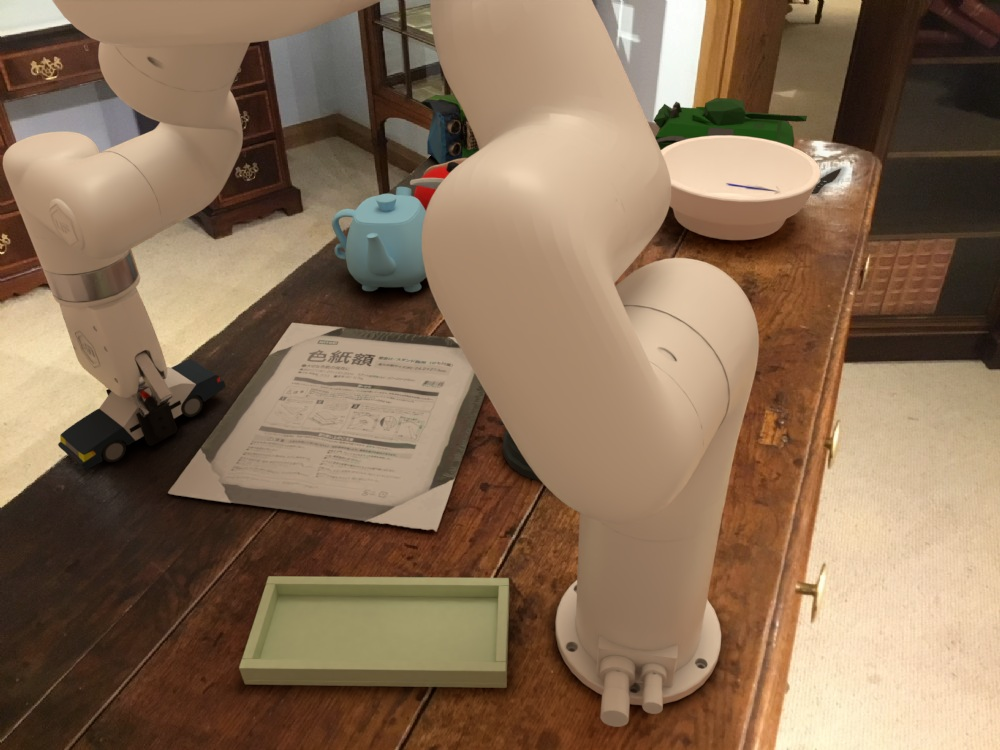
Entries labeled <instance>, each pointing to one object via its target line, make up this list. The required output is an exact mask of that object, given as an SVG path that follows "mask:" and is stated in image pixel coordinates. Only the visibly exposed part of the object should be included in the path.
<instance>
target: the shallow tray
mask: <svg viewBox="0 0 1000 750" xmlns="http://www.w3.org/2000/svg"><path fill="white" fill-rule="evenodd" d="M260 598H261V599H260V600H259V601H260V602H259V604H258V608H257V611H256V614H255V617H254V621H253V623H252V627H251V630H250V633H249V635H248V639H247V643H246V645H245V649H244V651H243V654H242V658H241V659H240V663H239V666H238V669H239V673H240V675H241V678H242V680H243V683H244V685H249V686H251V685H254V686H255V685H257V686H259V685H260V686H261V685H262V686H326V687H327V686H331V687H332V686H335V687H336V686H338V687H341V686H342V687H410V688H411V687H415V688H417V687H418V688H480V689H481V688H483V689H484V688H485V689H486V688H488V689H489V688H490V689H491V688H493V689H494V688H495V689H506V688H508V655H509V626H510V625H509V621H510V620H509V619H510V578H509V577H441V576H440V577H436V576H435V577H434V576H433V577H431V576H430V577H426V576H423V577H422V576H421V577H420V576H416V577H415V576H413V577H412V576H410V577H409V576H297V575H296V576H293V575H292V576H291V575H289V576H287V575H286V576H285V575H284V576H283V575H280V576H279V575H276V576H275V575H271V576H270V575H268V577H267V579H266V583H265V586H264V589H263V592H262V596H261V597H260Z"/></svg>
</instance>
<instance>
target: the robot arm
mask: <svg viewBox="0 0 1000 750" xmlns="http://www.w3.org/2000/svg"><path fill="white" fill-rule="evenodd" d="M51 1H52V3H53V4H54V5H55V7H56V8H57V9H58V11H59V12H60V14H61V15H62V16H63V17H64V18H65V20H67V21H68V22H69V23H70V24H71V25H72V26H73V27H74V28H75V29H76V30H78V31H79V32H81V33H83V34H84V35H86V36H87V37H89V38H90V39H92V40H95V41H98V42H99V45H98V53H97V54H98V55H97V57H98V63H99V68H100V72H101V74H102V76H103V78H104V80H105V82H106V83H107V85H108V87H109V88H110V89H111V91H112V92H113V93H114V94H115V95H116V96H117V97H118V98H119V99H120V100H121V101H122V102H123V103H124V104H126V105H127V106H128V107H129V108H130V109H132V110H134V111H135V112H137V113H139V114H140V115H143V116H145V117H146V118H149V119H151V120H154V121H156V122H158V124H157V126H156V127H155V128H154V129H153V130H151V131H148V132H146V133H143V134H141V135H138V136H135V137H132V138H130V139H128V140H125V141H123V142H121V143H118V144H117V145H114V146H112V147H109V148H106V149H105V150H102V151H100V149H99V148H98V146H97V144H96V143H95V142H94V141H93V139H91V138H90V137H89V136H87V135H85V134H82V133H79V132H75V131H61V130H60V131H49V132H43V133H38V134H34V135H31V136H27V137H25V138H23V139H21V140H18V141H16V142H15V143H12V145H10V146H9V147H8V148H7V149H6V151H5V152H4V154H3V157H2V168H3V172H4V176H5V178H6V180H7V183H8V186H9V188H10V191H11V193H12V196H13V198H14V201H15V204H16V206H17V209H18V210H19V214H20V216H21V218H22V221H23V223H24V226H25V229H26V230H27V233H28V236H29V238H30V241H31V243H32V246H33V248H34V251H35V254H36V256H37V259H38V261H39V263H40V266H41V269H42V271H43V274H44V276H45V278H46V281H47V284H48V286H49V288H50V292H51V294H52V297H53V299H54V300H55V302H57V303H58V304H59V308H60V311H61V314H62V318H63V321H64V324H65V327H66V330H67V333H68V337H69V339H70V342H71V345H72V348H73V350H74V353H75V357H76V359H77V361H78V363H79V364H80V366H81V367H82V368H83V369H84V371H86V372H87V373H88V374H89V375H91V377H93V378H94V379H96V380H97V381H98V382H99V383H100V384H102V385H103V386H104V387H105V388H106V390H105V392H106V394H107V396H108V395H109V394H110V392H111V391H112V392H114V393H115V394H116V395H118V396H120V397H123V398H129V397H131V396H132V398H133V400H134V402H135V404H136V406H137V408H138V410H139V413H137V414H136V416H137V418H138V421H139V424H140V427H141V429H142V432H143V435H144V436H143V437H144V440H145V442H146V444H147V445H149V446H150V447H152V446H155V445H156V444H159V443H160V442H162V441H164V440H165V439H167V438H169V437H171V436H172V435H174V434H176V433H177V432H178V425H177V423H176V420H175V418H174V417H173V414H172V411H171V408H170V405H169V404H170V401H169V399H170V398H172V393H171V391H170V390H169V388H168V386H167V385H166V383H165V382H164V379H166V377H167V367H168V366H167V363H166V359H165V355H164V352H163V350H162V347H161V344H160V341H159V338H158V336H157V333H156V330H155V328H154V326H153V323H152V320H151V317H150V316H149V312H148V310H147V308H146V305H145V303H144V302H143V299H142V297H141V295H140V292H139V291H138V289H137V287H138V285H139V284H140V282H141V275H140V272H139V269H138V266H137V263H136V260H135V257H134V254H133V251H132V249H133V248H135V247H137V246H139V245H140V244H144V243H145V242H147V241H149V240H150V239H152V238H154V237H155V236H156V235H158V234H160V233H162V232H163V231H165V230H167V229H168V228H171V227H172V226H175V225H176V224H179V223H180V222H183V221H184V220H186V219H188V218H190V217H192V216H194V215H196V214H198V213H200V212H201V211H202V210H204V209H205V208H207V207H208V206H209V205H210V204H211V203H213V202H214V201H215V199H216V198H217V197H218V196H219V195H220V193H221V192H222V190H223V189H224V187H225V185H226V184H227V182H228V179H229V178H230V176H231V173H232V172H233V169H234V167H235V165H236V163H237V161H238V159H239V157H240V154H241V152H242V147H243V141H244V140H243V138H244V132H243V131H244V130H243V123H242V119H241V113H240V110H239V106H238V104H237V101H236V99H235V96H234V94H233V92H232V91H231V88H232V86H233V84H234V81H235V79H236V77H237V74H238V72H239V70H240V67H241V64H242V63H243V60H244V58H245V55H246V53H247V51H248V49H249V47H250V44H251V43H259V42H267V41H275V40H279V39H282V38H287V37H290V36H294V35H295V36H296V35H300V34H302V33H305V32H308V31H311V30H313V29H315V28H316V29H317V28H318V27H320V26H323V25H325V24H328V23H331V22H332V21H335V20H338V19H340V18H343V17H346V16H348V15H352V14H353V13H357V12H358V11H361V10H364V9H366V8H369V7H371V6H373V5H375V4H377V3H380V2H382V1H383V0H51ZM429 3H430V6H429V7H430V22H431V23H430V24H431V30H432V36H433V43H434V47H435V51H436V55H437V58H438V62H439V64H440V67H441V70H442V72H443V73H442V74H443V76H444V78H445V80H446V81H447V84H448V87H449V88H450V90H451V91H452V94H454V95H455V97H456V98H457V100H458V102H459V104H460V105H461V107H462V109H463V111H464V113H465V116H466V118H467V120H468V122H469V124H470V127H471V129H472V131H473V133H474V136H475V138H476V141H477V144H478V147H479V151H478V152H476V153H475V154H473V155H472V156H470V157H468V158H467V159H466V160H464V161H463V162H462V163H461V164H459V165H458V166H457V167H456V168H455V169H453V170H452V171H451V172H450V173H449V174H448V176H447V177H446V178H445V179H444V180H443V181H442V183H441V184H440V185H439V186H438V188H437V189H436V191H435V193H434V194H433V196H432V198H431V200H430V202H429V205H428V207H427V210H426V213H425V217H424V221H423V228H422V254H423V261H424V267H425V272H426V280H427V283H428V286H429V289H430V292H431V294H432V297H433V299H434V301H435V303H436V306H437V308H438V310H439V311H440V313H441V316H442V318H443V320H444V321H445V323H446V325H447V327H448V329H449V331H450V333H451V334H452V337H455V339H456V341H457V343H458V344H459V346H460V348H461V350H462V351H463V353H464V355H465V357H466V358H467V360H468V362H469V364H470V365H471V367H472V369H473V371H474V372H475V374H476V376H477V378H478V380H479V381H480V383H481V385H482V387H483V388H484V390H485V392H486V394H485V395H486V396H487V397H488V399H489V400H490V403H491V404H492V406H493V407H494V410H495V411H496V413H497V414H498V416H499V418H500V421H502V422H503V423H504V425H503V426H504V427H505V429H506V431H507V430H508V432H509V434H510V435H511V437H512V439H513V441H514V442H515V444H516V446H517V447H518V449H519V451H520V452H521V454H522V455H523V457H524V459H525V460H526V462H527V463H528V465H529V466H530V467H531V469H532V470H533V471H534V473H535V474H536V475H537V477H538V478H539V479H540V480H541V481H542V482H541V481H540V482H541V483H542V484H543V485H544V486H545V487H546V489H547V490H549V492H551V494H552V495H553V496H555V497H556V499H559V500H560V501H561V502H562V503H563V504H565V505H566V506H568V507H569V508H570V509H572V510H573V511H575V512H577V513H578V514H579V517H578V518H579V519H578V521H579V522H578V523H579V524H578V548H577V575H576V580H575V581H574V582H572V584H570V585H569V587H568V588H567V589H566V590H565V592H564V594H563V595H562V597H561V599H560V601H559V604H558V606H557V609H556V615H555V622H554V623H555V628H554V629H555V639H556V643H557V648H558V651H559V653H560V655H561V658H562V661H563V662H564V663H565V665H566V666H567V668H568V669H569V670H570V672H571V674H573V675H574V676H575V678H577V679H578V680H579V681H580V682H581V684H583V685H585V686H586V687H588V688H589V689H591V690H592V691H594V692H595V693H597V694H599V695H601V704H600V705H601V707H600V718H599V719H600V720H601V722H602V723H603V724H605V725H607V726H610V727H614V728H619V727H624V726H626V725H628V723H629V722H630V705H635V706H641V707H642V710H643V711H644V712H645V713H647V714H650V715H658V714H660V713H662V711H663V709H664V708H663V707H664V705H665V704H668V703H673V702H676V701H679V700H681V699H683V698H685V697H687V696H690V695H692V694H693V693H694V692H696V691H697V690H698V689H700V688H701V687H702V686H703V685H704V684H706V681H707V680H708V679H709V678H710V676H711V675H712V674H713V672H714V669H715V667H716V665H717V663H718V661H719V656H720V653H721V646H722V644H721V643H722V631H721V630H722V629H721V623H720V621H719V618H718V615H717V613H716V610H715V609H714V607H713V606H712V603H711V602H710V601H709V599H708V596H709V590H710V585H711V580H712V573H713V569H714V563H715V557H716V551H717V546H718V540H719V535H720V529H721V525H722V524H721V523H722V518H723V512H724V508H725V504H726V501H727V500H726V499H727V494H728V489H729V483H730V479H731V474H732V473H731V472H732V467H733V464H734V463H733V462H734V457H735V453H736V449H737V445H738V440H739V436H740V432H741V429H742V425H743V422H744V417H745V414H746V410H747V407H748V404H749V403H748V402H749V399H750V396H751V392H752V389H753V385H754V381H755V376H756V371H757V366H758V360H759V350H760V349H759V348H760V338H759V337H760V335H759V327H758V322H757V318H756V314H755V312H754V309H753V306H752V304H751V302H750V300H749V298H748V296H747V294H746V293H745V291H744V290H743V289H742V288H741V286H740V285H739V284H738V282H736V281H735V279H733V278H732V276H730V275H729V274H727V273H726V271H724V270H722V269H721V268H718V267H717V266H715V265H713V264H711V263H708V262H705V261H703V260H699V259H693V258H688V257H671V258H670V257H669V258H665V259H660V260H656V261H652V262H650V263H648V264H645V265H644V266H641V267H639V268H637V269H635V270H634V271H633V272H631V273H630V274H628V275H627V276H625V277H624V278H623V279H622V280H621V281H619V282H618V283H617V284H615V283H616V282H617V281H618V280H619V279H620V278H621V277H622V275H623V274H624V273H625V272H626V271H627V269H628V268H629V267H630V266H631V265H632V264H633V263H634V261H635V260H636V259H637V258H638V257H639V255H640V254H641V253H642V252H643V250H644V249H645V248H646V247H647V246H648V245H649V243H650V242H651V241H652V239H653V238H654V237H655V235H657V233H658V231H659V230H660V228H661V227H662V225H663V224H664V222H665V219H666V218H667V215H668V212H669V209H670V202H671V179H670V175H669V171H668V168H667V165H666V162H665V160H664V157H663V155H662V152H661V150H660V148H659V145H658V143H657V141H656V139H655V138H656V136H655V135H654V132H653V129H652V128H651V126H650V124H649V121H648V119H647V117H646V115H645V113H644V110H643V108H642V106H641V104H640V102H639V99H638V97H637V95H636V93H635V90H634V88H633V85H632V83H631V82H630V79H629V76H628V74H627V72H626V70H625V67H624V65H623V63H622V61H621V58H620V57H619V55H618V52H617V49H616V48H615V46H614V43H613V41H612V39H611V37H610V34H609V31H608V30H607V28H606V26H605V23H604V22H603V20H602V18H601V16H600V14H599V12H598V10H597V8H596V6H595V4H594V1H593V0H430V2H429ZM140 377H142V378H143V380H142V381H140V382H139V378H140ZM147 388H149V389H150V391H151V396H150V397H148V398H146V400H145V402H144V400H143V398H142V396H141V394H140V392H141V391H143V390H145V389H147Z"/></svg>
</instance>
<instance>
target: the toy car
mask: <svg viewBox="0 0 1000 750" xmlns="http://www.w3.org/2000/svg"><path fill="white" fill-rule="evenodd" d="M166 367H167V377H166V379H164V382H165V383H166V385H167V386H168V388H169V390H170V391H171V393H172V398H170V399H169V401H170V404H169V405H170V408H171V411H172V414H173V417H174V419H176V418H178V417H179V416H181V415H184V416H186V417H188V418H190V417H191V418H192V417H195V416H196V415H198V414H199V413H200V412H201V410H202V408H203V402H206V401H207V400H209V399H210V398H212V397H213V396H215V395H217V394H218V393H219V392H221V391H223V389H225V388H226V383H225V380H223V379H222V378H220V375H218V374H216V373H214V372H213V371H212V370H209V369H208V368H206V367H205V366H203V365H202V364H200V363H198V362H197V361H195V360H194V359H192V358H189V359H186V360H185V361H182V362H180V363H178V364H176V365H173V366H171V367H168V366H166ZM142 380H143V378H142V377H140V378H139V382H140V381H142ZM140 394H141V396H142V398H143V400H144V402H145V400H146V398H148V397H150V396H151V391H150V389H149V388H147V389H145V390H143V391H141V392H140ZM137 413H139V410H138V408H137V406H136V404H135V402H134V400H133V398H132V396H131V397H129V398H123V397H120V396H118V395H116V394H115V393H114V392H112V391H111V392H110V394H109V395H108V394H107V396H106V398H105V399H104V401H103V402H102V403H101V405H100V407H99V408H97V409H95V410H93V411H91V412H90V413H89V414H87V415H86V416H84V417H82V418H81V419H80V420H78V421H77V422H75V423H74V424H72V425H70V426H69V427H67V428H66V429H65V430H64V431H63V432H62V433H60V442H58V444H57V447H58V448H60V449H61V450H62V451H63V452H64V453H65V454H67V455H68V456H69V457H70V458H71V459H72V460H73V461H74V462H76V464H78V465H79V466H80V467H81V468H82V469H84V470H86V471H87V470H89V469H91V468H93V467H94V466H96V465H98V464H100V463H101V462H103V461H106V462H108V463H115V462H118V461H120V460H121V459H122V458H123V457H124V456H125V454H126V451H127V447H126V446H129V445H131V444H133V443H135V442H136V441H138V440H140V439H142V438H143V437H144V435H143V432H142V429H141V427H140V424H139V421H138V418H137V416H136V414H137Z"/></svg>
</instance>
